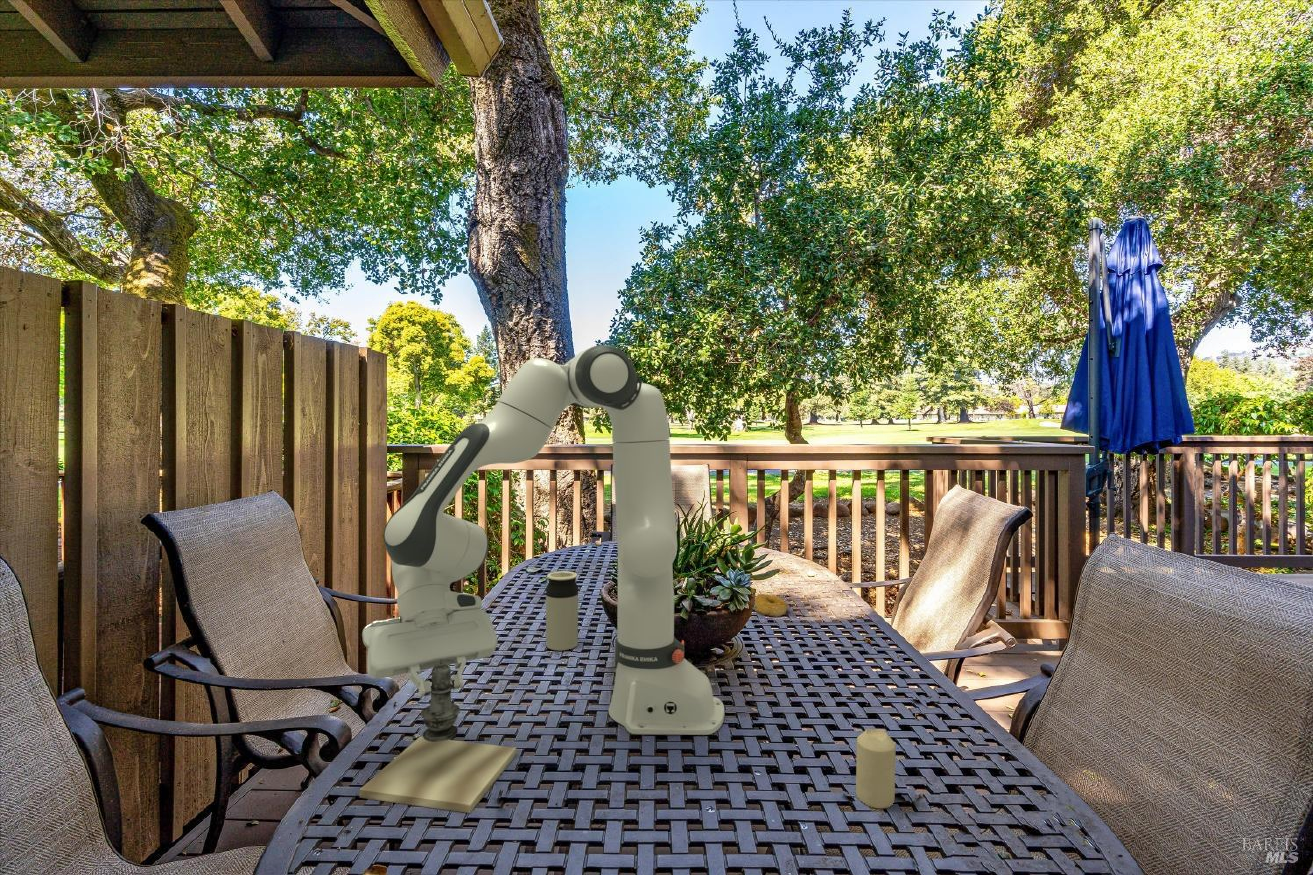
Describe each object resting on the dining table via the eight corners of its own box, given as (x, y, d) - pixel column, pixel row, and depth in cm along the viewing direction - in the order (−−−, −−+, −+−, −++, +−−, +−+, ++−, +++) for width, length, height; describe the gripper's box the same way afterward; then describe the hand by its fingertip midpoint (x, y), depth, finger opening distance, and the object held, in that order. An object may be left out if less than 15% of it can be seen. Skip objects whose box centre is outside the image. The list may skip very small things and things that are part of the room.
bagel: (764, 619, 179) (764, 602, 179) (747, 608, 189) (748, 592, 189) (795, 616, 182) (795, 600, 181) (777, 605, 192) (777, 590, 192)
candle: (876, 813, 90) (877, 745, 90) (848, 792, 95) (849, 728, 95) (902, 802, 93) (903, 736, 93) (874, 783, 98) (875, 720, 98)
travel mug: (575, 651, 152) (575, 578, 152) (543, 651, 153) (543, 578, 152) (580, 640, 160) (580, 570, 160) (549, 639, 160) (549, 570, 160)
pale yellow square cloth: (516, 754, 105) (516, 747, 105) (470, 812, 90) (469, 804, 90) (420, 743, 109) (420, 736, 109) (359, 797, 93) (359, 789, 93)
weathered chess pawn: (456, 741, 97) (457, 665, 96) (417, 744, 96) (418, 667, 95) (462, 722, 103) (463, 651, 102) (424, 725, 102) (425, 652, 101)
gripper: (363, 613, 99) (373, 697, 91) (489, 595, 110) (508, 668, 102) (358, 632, 103) (368, 715, 95) (481, 613, 114) (498, 685, 106)
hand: (442, 690), depth 99 cm, fingers closed on weathered chess pawn, 4 cm apart
